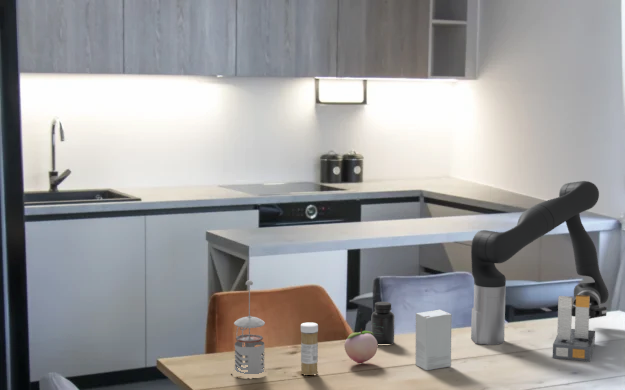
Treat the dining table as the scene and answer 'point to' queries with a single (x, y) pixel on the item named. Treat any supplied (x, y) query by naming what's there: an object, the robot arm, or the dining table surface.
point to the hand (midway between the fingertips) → (582, 316)
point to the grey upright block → (564, 317)
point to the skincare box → (433, 339)
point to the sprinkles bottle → (309, 348)
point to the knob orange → (582, 316)
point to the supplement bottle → (383, 323)
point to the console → (574, 347)
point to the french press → (249, 344)
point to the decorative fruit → (361, 346)
